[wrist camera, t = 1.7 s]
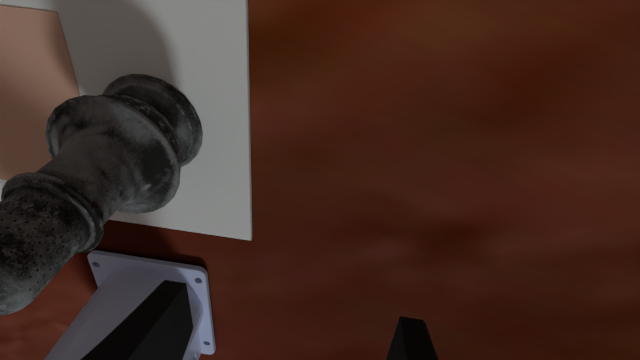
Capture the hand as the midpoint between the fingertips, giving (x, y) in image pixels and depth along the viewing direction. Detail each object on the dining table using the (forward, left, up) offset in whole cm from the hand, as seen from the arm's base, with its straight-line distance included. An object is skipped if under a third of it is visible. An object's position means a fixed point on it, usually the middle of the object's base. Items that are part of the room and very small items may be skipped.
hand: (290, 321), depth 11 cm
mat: (0, +15, -10) cm, 18 cm away
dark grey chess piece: (0, +9, -10) cm, 14 cm away
